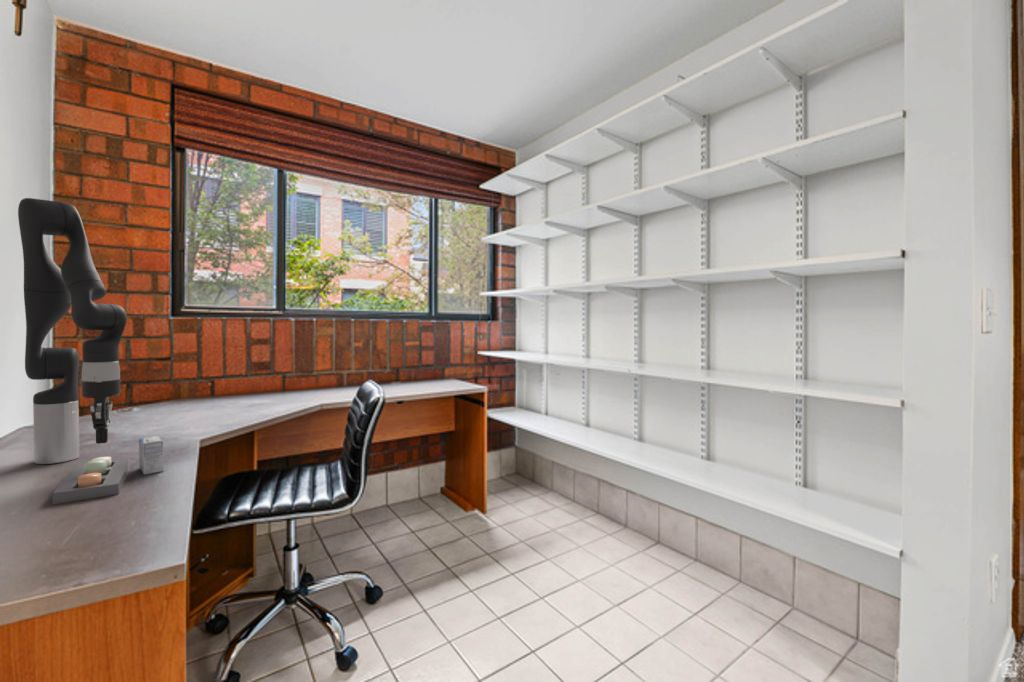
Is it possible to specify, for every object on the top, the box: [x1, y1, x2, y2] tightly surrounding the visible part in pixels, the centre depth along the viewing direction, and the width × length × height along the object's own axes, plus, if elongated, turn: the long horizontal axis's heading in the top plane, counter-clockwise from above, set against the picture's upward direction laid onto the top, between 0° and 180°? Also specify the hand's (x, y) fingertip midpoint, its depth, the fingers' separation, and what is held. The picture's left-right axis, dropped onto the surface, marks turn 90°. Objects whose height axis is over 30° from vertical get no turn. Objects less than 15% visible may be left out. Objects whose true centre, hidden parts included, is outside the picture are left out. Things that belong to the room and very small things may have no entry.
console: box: [52, 458, 131, 505], centre depth 111 cm, size 24×11×2 cm, turn 36°
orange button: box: [78, 473, 101, 488], centre depth 104 cm, size 4×4×3 cm
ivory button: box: [90, 456, 112, 467], centre depth 117 cm, size 4×4×3 cm
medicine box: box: [138, 435, 165, 475], centre depth 122 cm, size 8×4×9 cm, turn 47°
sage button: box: [84, 459, 107, 474], centre depth 111 cm, size 4×4×3 cm
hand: (102, 442), depth 117 cm, fingers closed
